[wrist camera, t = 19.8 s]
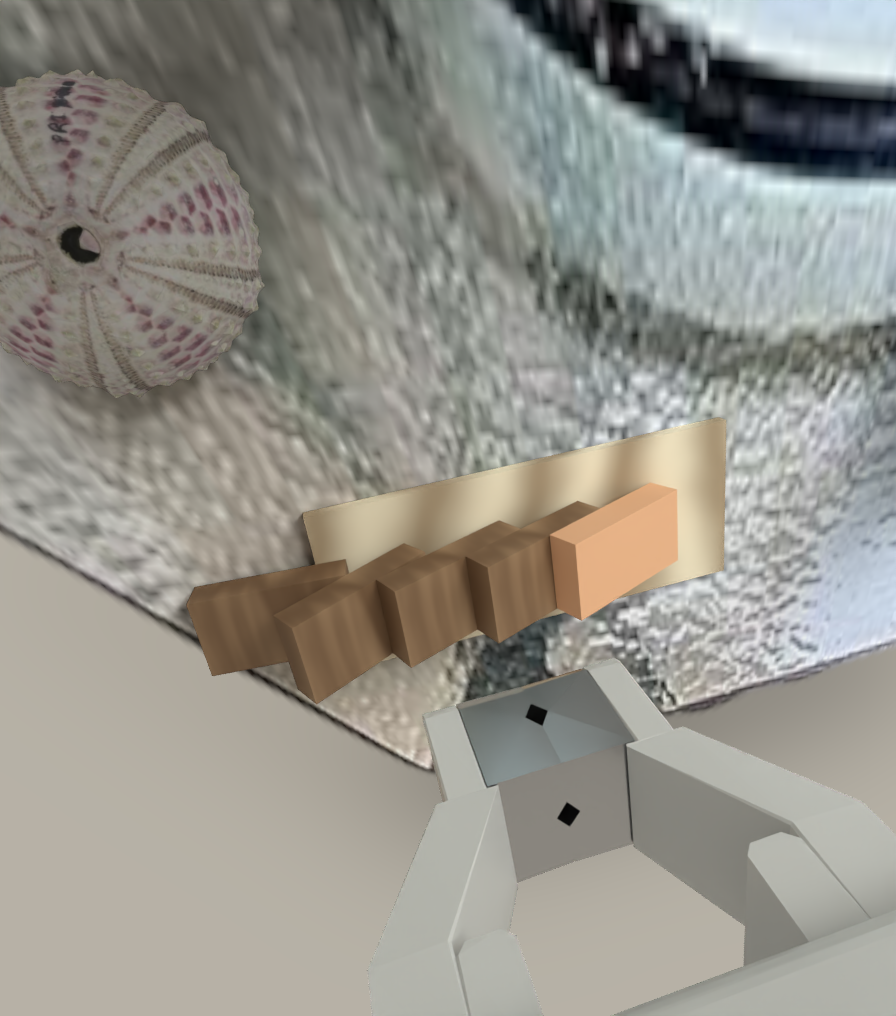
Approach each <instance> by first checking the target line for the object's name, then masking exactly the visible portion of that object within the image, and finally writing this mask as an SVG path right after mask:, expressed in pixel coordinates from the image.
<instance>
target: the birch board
mask: <svg viewBox="0 0 896 1016" xmlns="http://www.w3.org/2000/svg"><path fill="white" fill-rule="evenodd" d="M725 462H726V420H724V419H722V418H719V417H718V418H713V419H709V420H705V421H700V422H696V423H692V424H687V425H683V426H679V427H674V428H670V429H665V430H661V431H657V432H652V433H648V434H644V435H639V436H635V437H631V438H626V439H622V440H618V441H613V442H609V443H605V444H600V445H596V446H591V447H587V448H583V449H578V450H574V451H570V452H565V453H561V454H557V455H552V456H548V457H544V458H539V459H535V460H531V461H526V462H522V463H517V464H513V465H509V466H504V467H500V468H496V469H491V470H487V471H483V472H478V473H474V474H470V475H465V476H461V477H456V478H452V479H448V480H443V481H439V482H435V483H430V484H426V485H422V486H417V487H413V488H409V489H404V490H400V491H396V492H391V493H387V494H382V495H378V496H374V497H369V498H365V499H361V500H356V501H352V502H348V503H343V504H339V505H335V506H330V507H326V508H322V509H317V510H313V511H308V512H304V513H303V520H304V523H305V527H306V531H307V535H308V538H309V542H310V546H311V550H312V553H313V557H314V561H315V564H322V563H327V562H332V561H338V560H343V559H346V562H347V566H348V570H349V573H351V572H353V571H354V570H356V569H358V568H360V567H362V566H363V565H365V564H367V563H369V562H371V561H372V560H374V559H376V558H378V557H380V556H381V555H383V554H385V553H387V552H389V551H390V550H392V549H394V548H396V547H398V546H400V545H401V544H403V543H405V544H407V545H410V546H412V547H415V548H417V549H419V550H422V551H424V552H425V555H428V554H430V553H432V552H434V551H436V550H438V549H440V548H442V547H444V546H446V545H448V544H450V543H453V542H455V541H457V540H459V539H461V538H463V537H465V536H467V535H469V534H471V533H473V532H476V531H478V530H480V529H482V528H484V527H486V526H488V525H490V524H492V523H494V522H496V521H498V520H500V521H502V522H505V523H507V524H510V525H512V526H515V527H517V528H520V529H522V528H524V527H526V526H528V525H530V524H532V523H534V522H536V521H538V520H540V519H542V518H544V517H546V516H548V515H550V514H552V513H554V512H556V511H558V510H560V509H562V508H564V507H566V506H568V505H570V504H572V503H574V502H576V501H580V502H583V503H586V504H589V505H592V506H595V507H598V508H602V507H604V506H606V505H608V504H610V503H612V502H614V501H616V500H618V499H620V498H622V497H623V496H625V495H627V494H629V493H631V492H633V491H635V490H637V489H639V488H641V487H643V486H645V485H647V484H649V483H654V484H658V485H662V486H666V487H670V488H673V489H677V523H678V560H677V561H676V562H674V563H672V564H671V565H669V566H668V567H666V568H665V569H663V570H661V571H660V572H658V573H657V574H655V575H653V576H652V577H650V578H649V579H647V580H645V581H644V582H642V583H641V584H639V585H637V586H636V587H634V588H633V589H631V590H630V591H628V592H626V593H625V594H623V595H622V596H620V597H618V598H621V597H625V596H629V595H633V594H636V593H640V592H644V591H648V590H651V589H655V588H659V587H663V586H666V585H670V584H674V583H678V582H681V581H685V580H689V579H693V578H696V577H700V576H704V575H708V574H711V573H715V572H719V571H723V570H724V520H725ZM618 598H617V599H618ZM561 613H565V612H564V611H562V610H560V609H558V608H557V609H556V610H554V611H552V612H551V613H549V614H547V615H546V616H544V617H542V618H541V619H543V618H547V617H550V616H554V615H558V614H561ZM483 634H484V633H482V632H480V631H479V630H476V631H474V632H473V633H471V634H469V635H467V636H466V637H464V638H462V639H461V640H464V639H468V638H472V637H475V636H479V635H483ZM459 641H460V640H459ZM393 658H397V656H396V655H395V654H391V655H390V656H388V657H387V658H385V659H384V660H382V661H385V660H389V659H393ZM382 661H381V662H382Z"/></svg>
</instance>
